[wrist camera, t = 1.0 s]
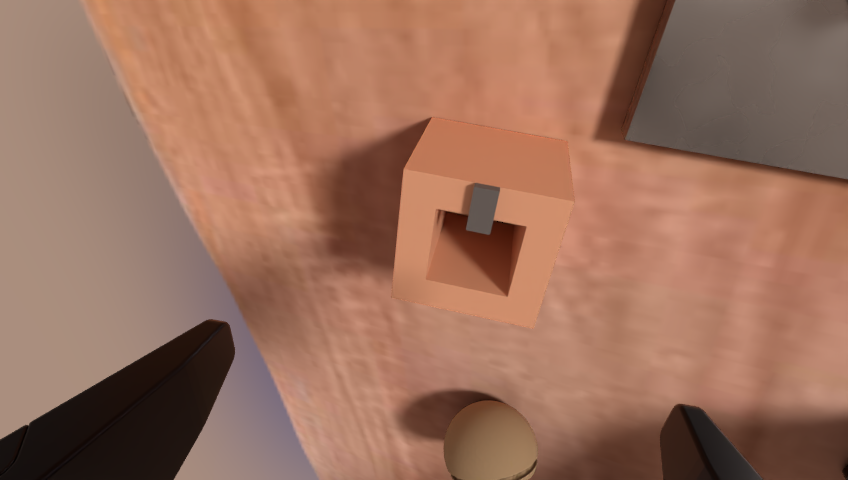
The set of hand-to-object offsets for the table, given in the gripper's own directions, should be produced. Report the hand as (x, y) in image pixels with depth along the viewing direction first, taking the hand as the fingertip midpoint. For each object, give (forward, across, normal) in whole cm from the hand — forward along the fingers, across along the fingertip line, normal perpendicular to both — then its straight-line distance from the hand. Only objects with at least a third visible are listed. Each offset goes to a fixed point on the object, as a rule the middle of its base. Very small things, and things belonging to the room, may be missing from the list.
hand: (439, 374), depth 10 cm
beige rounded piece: (+12, -3, +16) cm, 20 cm away
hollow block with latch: (+12, 0, +2) cm, 12 cm away
